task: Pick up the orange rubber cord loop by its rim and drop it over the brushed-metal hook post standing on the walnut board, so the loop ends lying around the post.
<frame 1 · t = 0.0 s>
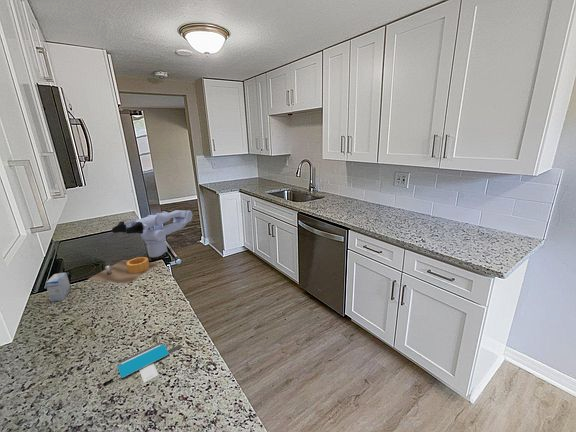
hand: (119, 231, 120), 22 cm above the countertop, tool horizontal, fingers open, 7 cm apart
walnut board: (126, 273, 127), on the countertop
hook post: (109, 273, 124), resting on walnut board
medicine box: (61, 296, 110), on the countertop
blue panel with block: (146, 367, 74), on the countertop
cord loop: (138, 268, 128), point 1 cm above the countertop, touching walnut board
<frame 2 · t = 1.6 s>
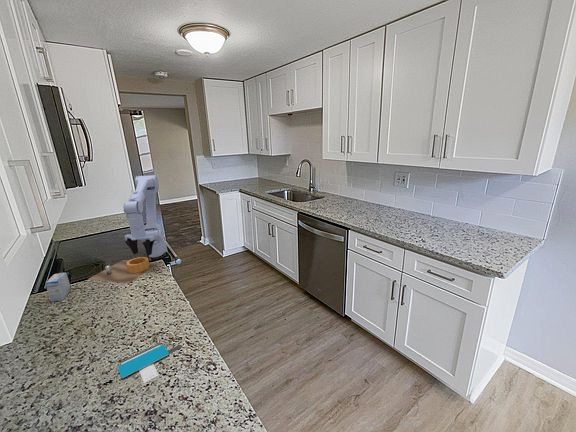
hand: (142, 254, 125), 9 cm above the countertop, tool pointing down, fingers open, 7 cm apart
nothing on the countertop moved.
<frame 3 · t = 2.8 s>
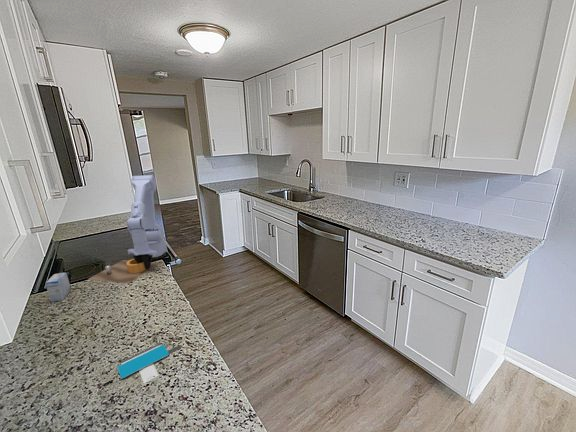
hand: (145, 268, 127), 2 cm above the countertop, tool pointing down, fingers closed
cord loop: (138, 268, 128), point 1 cm above the countertop, touching gripper, walnut board
everything else where it was.
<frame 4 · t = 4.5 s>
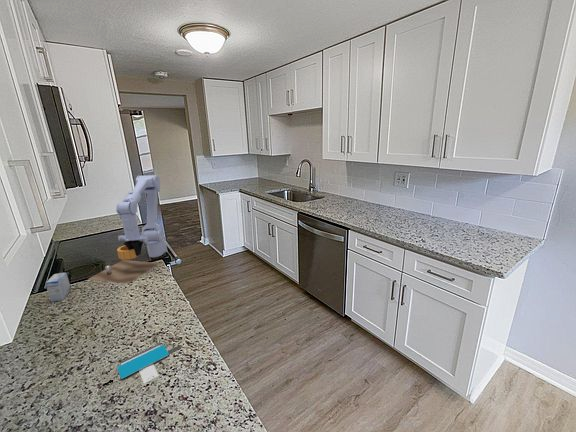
hand: (136, 255, 124), 9 cm above the countertop, tool pointing down, fingers closed on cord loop
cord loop: (130, 255, 125), point 9 cm above the countertop, touching gripper
everything else where it was.
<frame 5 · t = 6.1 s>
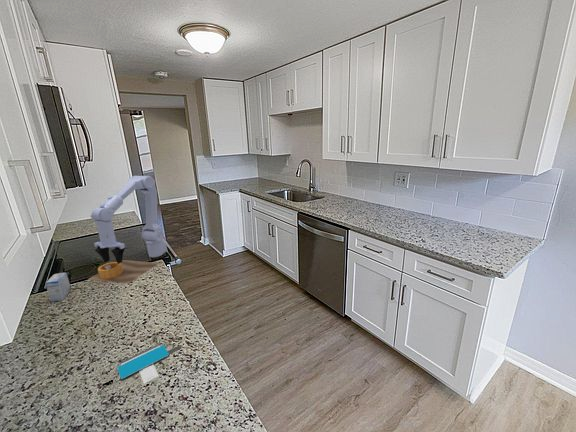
hand: (113, 262, 121), 8 cm above the countertop, tool pointing down, fingers open, 6 cm apart
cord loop: (111, 274, 124), point 1 cm above the countertop, touching walnut board
everything else where it was.
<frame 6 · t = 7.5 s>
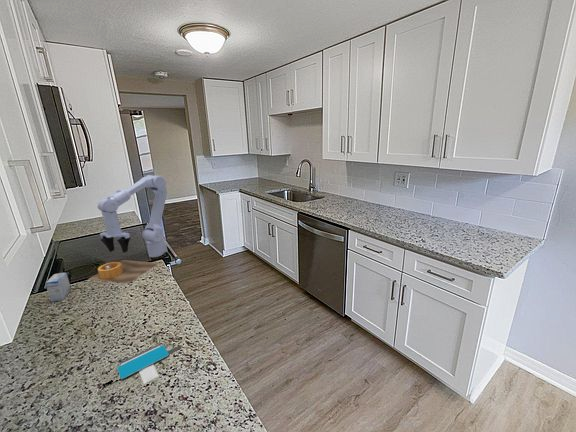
hand: (118, 251, 127), 10 cm above the countertop, tool pointing down, fingers open, 7 cm apart
nothing on the countertop moved.
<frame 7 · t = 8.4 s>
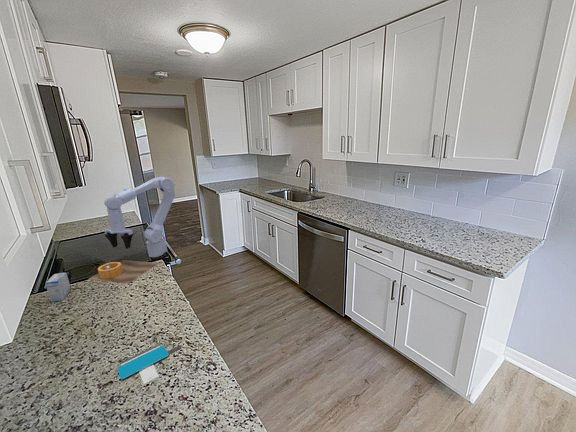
hand: (121, 247, 132), 10 cm above the countertop, tool pointing down, fingers open, 7 cm apart
nothing on the countertop moved.
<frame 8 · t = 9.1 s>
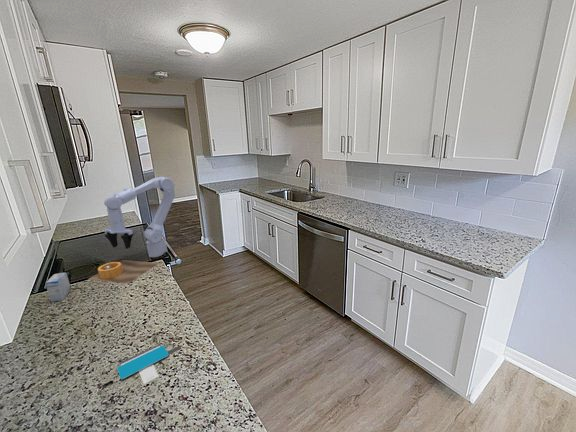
hand: (121, 247, 132), 10 cm above the countertop, tool pointing down, fingers open, 7 cm apart
nothing on the countertop moved.
at the end: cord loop 1.0 cm from the hook post (horizontally); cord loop point 1.5 cm above the countertop; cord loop tilted 0° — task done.
